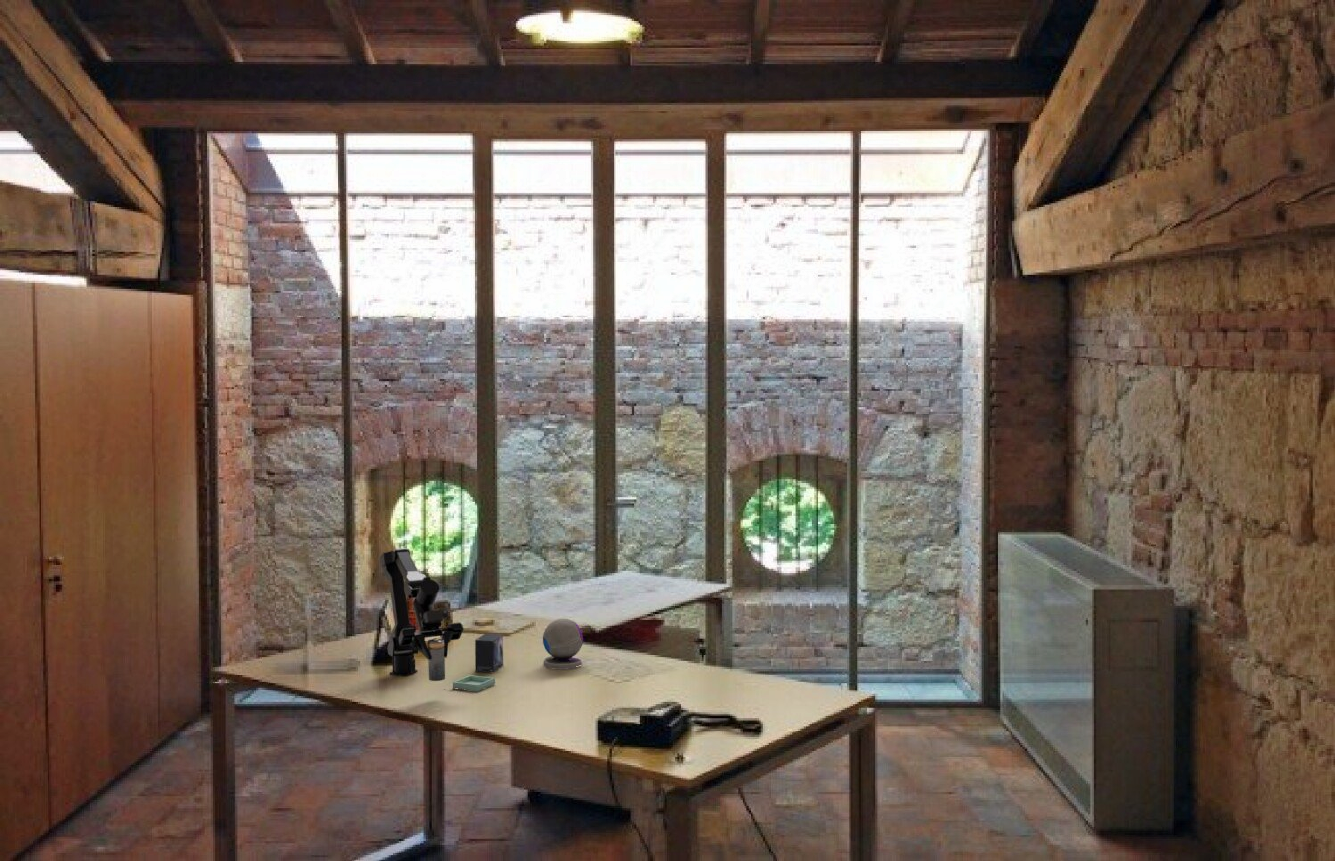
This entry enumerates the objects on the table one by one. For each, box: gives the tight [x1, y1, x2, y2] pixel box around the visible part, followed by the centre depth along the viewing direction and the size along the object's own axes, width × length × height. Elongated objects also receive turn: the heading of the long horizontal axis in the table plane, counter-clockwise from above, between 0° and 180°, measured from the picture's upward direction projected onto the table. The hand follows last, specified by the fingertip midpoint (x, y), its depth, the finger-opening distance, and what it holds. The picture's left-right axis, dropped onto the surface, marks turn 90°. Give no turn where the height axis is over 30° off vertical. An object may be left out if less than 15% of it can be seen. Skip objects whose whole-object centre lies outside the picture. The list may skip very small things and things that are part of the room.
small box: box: [474, 632, 504, 673], centre depth 463 cm, size 11×6×10 cm, turn 168°
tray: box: [452, 674, 496, 693], centre depth 441 cm, size 9×9×2 cm
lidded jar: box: [427, 637, 446, 682], centre depth 428 cm, size 5×5×12 cm
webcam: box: [542, 618, 584, 670], centre depth 467 cm, size 13×13×15 cm
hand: (437, 658), depth 427 cm, fingers closed on lidded jar, 5 cm apart
